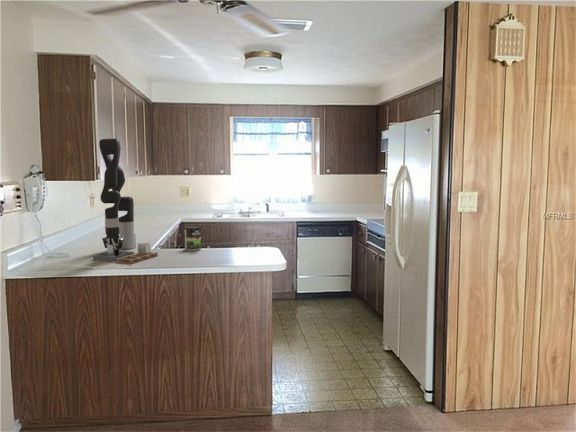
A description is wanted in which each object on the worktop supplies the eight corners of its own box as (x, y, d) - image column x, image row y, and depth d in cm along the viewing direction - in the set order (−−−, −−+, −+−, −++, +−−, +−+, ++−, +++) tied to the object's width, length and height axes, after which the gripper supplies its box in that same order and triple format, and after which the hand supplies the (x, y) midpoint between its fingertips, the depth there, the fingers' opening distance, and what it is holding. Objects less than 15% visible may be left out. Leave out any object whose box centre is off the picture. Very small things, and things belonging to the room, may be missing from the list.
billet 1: (107, 258, 268) (106, 244, 267) (114, 256, 273) (113, 242, 272) (113, 259, 266) (112, 245, 265) (120, 257, 272) (119, 243, 271)
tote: (113, 255, 280) (112, 250, 280) (134, 257, 274) (133, 251, 274) (93, 261, 266) (92, 255, 265) (115, 263, 260) (114, 257, 259)
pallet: (142, 256, 278) (142, 251, 278) (157, 257, 274) (157, 252, 274) (116, 264, 258) (115, 258, 258) (132, 265, 254) (131, 260, 254)
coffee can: (204, 248, 300) (204, 226, 299) (191, 251, 293) (190, 228, 291) (195, 246, 307) (194, 225, 306) (181, 249, 300) (180, 227, 298)
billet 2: (142, 255, 274) (142, 242, 273) (150, 256, 272) (149, 242, 271) (138, 257, 271) (137, 243, 270) (146, 257, 269) (145, 243, 268)
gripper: (126, 225, 268) (128, 255, 270) (107, 224, 274) (108, 253, 276) (117, 227, 261) (119, 257, 263) (97, 226, 267) (99, 256, 269)
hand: (113, 255), depth 270 cm, fingers closed on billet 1, 4 cm apart
